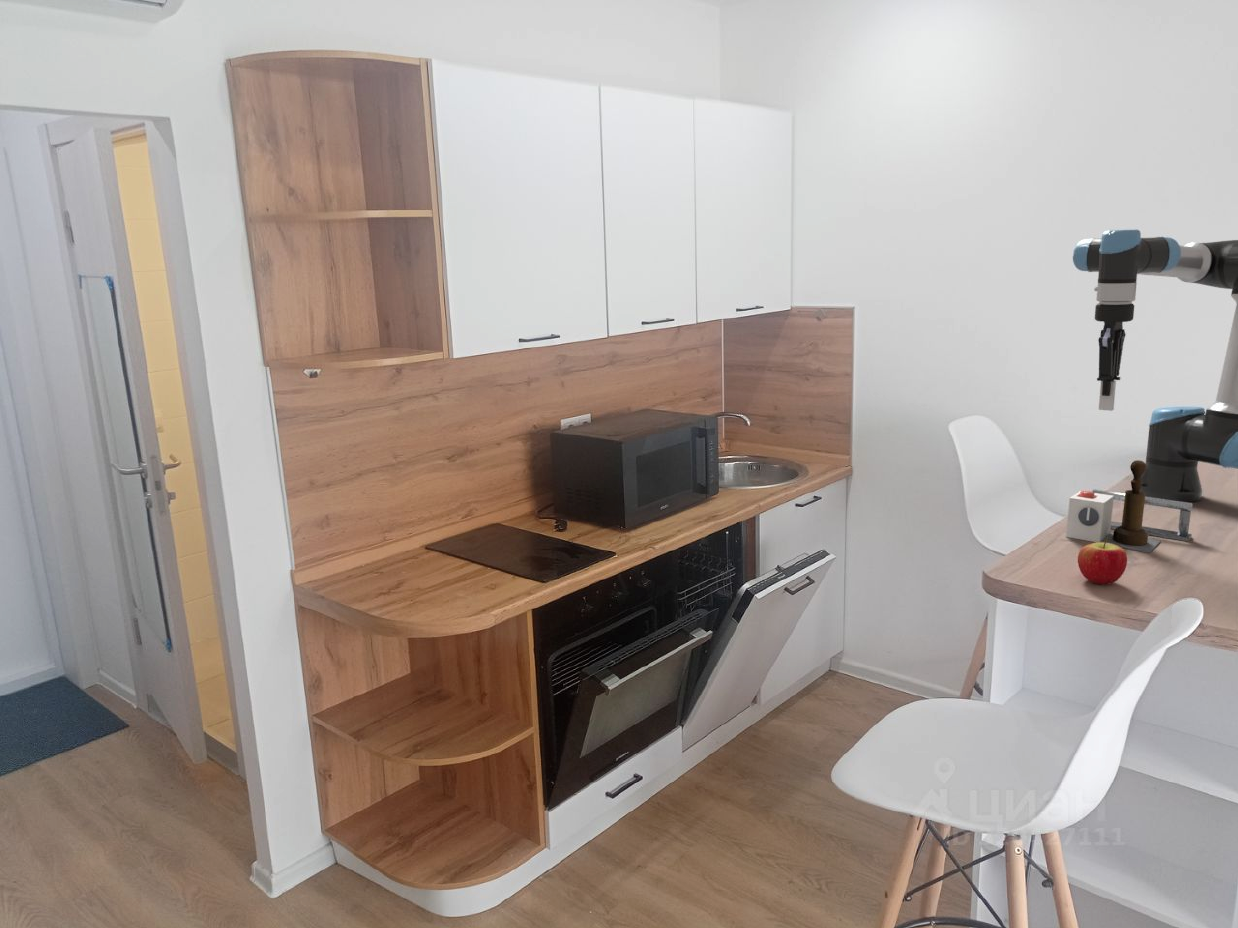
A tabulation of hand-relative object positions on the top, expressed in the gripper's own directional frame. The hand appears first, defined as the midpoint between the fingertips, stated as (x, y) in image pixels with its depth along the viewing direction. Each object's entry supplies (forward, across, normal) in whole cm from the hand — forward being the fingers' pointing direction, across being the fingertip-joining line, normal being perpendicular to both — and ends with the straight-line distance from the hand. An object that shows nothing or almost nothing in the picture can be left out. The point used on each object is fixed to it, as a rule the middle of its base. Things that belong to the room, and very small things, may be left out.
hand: (1106, 409), depth 212 cm
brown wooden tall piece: (+27, +8, +9) cm, 30 cm away
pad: (+28, +8, +9) cm, 30 cm away
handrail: (+28, -3, +8) cm, 29 cm away
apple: (+27, +39, +10) cm, 48 cm away
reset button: (+22, +7, -1) cm, 23 cm away
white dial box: (+27, +8, 0) cm, 28 cm away
